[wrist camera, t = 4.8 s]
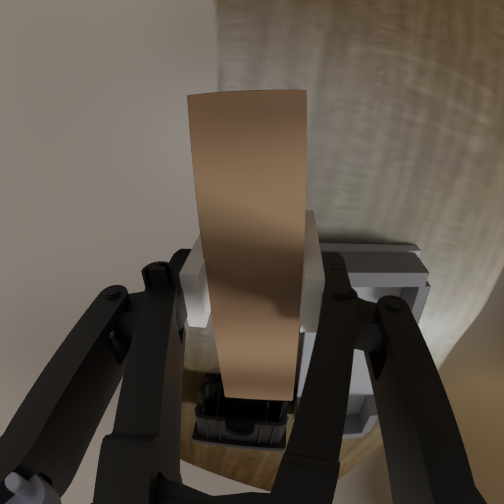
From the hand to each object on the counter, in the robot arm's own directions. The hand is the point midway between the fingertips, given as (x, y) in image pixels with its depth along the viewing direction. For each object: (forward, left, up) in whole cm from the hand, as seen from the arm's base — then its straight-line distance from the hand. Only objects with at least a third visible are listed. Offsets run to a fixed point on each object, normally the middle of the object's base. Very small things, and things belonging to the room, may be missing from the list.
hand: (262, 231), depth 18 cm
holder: (+16, +8, -6) cm, 18 cm away
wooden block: (0, 0, -1) cm, 1 cm away
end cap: (+24, -3, -6) cm, 24 cm away
